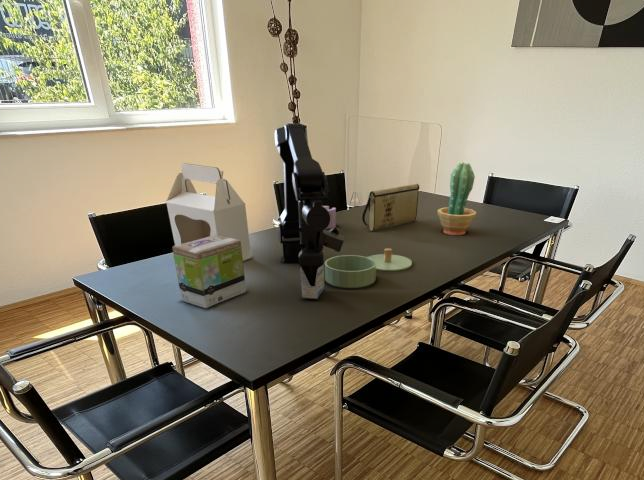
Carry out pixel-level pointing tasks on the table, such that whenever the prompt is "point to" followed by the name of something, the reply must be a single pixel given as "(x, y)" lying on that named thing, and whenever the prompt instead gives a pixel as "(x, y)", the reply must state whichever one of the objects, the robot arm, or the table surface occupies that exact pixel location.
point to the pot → (350, 271)
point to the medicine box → (315, 290)
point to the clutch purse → (392, 206)
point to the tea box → (209, 270)
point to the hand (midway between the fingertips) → (312, 280)
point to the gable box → (206, 209)
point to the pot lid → (390, 261)
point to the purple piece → (331, 217)
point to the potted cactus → (458, 201)
